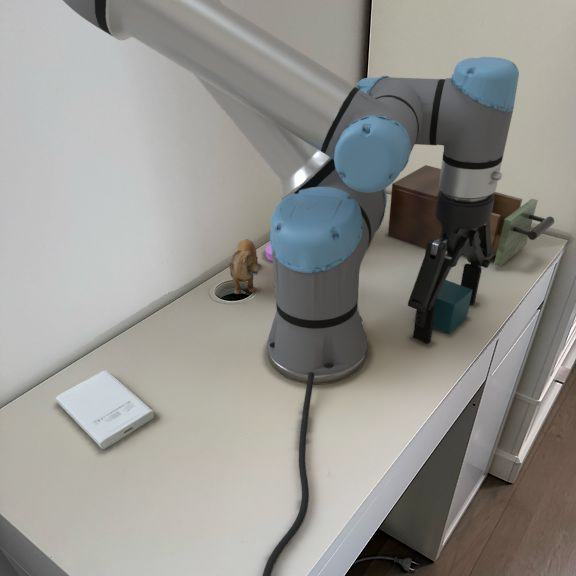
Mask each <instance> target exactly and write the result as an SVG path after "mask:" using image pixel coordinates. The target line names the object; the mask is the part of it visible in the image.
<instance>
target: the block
mask: <svg viewBox="0 0 576 576" xmlns="http://www.w3.org/2000/svg"><path fill="white" fill-rule="evenodd" d="M471 295H472V289H469V288H466V287H464V286H461V284H459V283H455V282H452V281H450V280H448V279H445V282H444V284H443V286H442V288H441V290H440V292H439V294H438V296H437V298H436V300H435V302H434V304H433V306H436V309H435V316H434V323H433V329H435V330H437V331H440V332H442V333H444V334H447V335H450V334H451V333H452V332H453V331H455V330H456V329H457V328H458V327H459V326H460V325H461V324H462V323H463V322H465V321H466V320H467V317H468V314H469V313H468V312H469V309H470V305H471V304H470V299H471Z"/></svg>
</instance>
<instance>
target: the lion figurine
mask: <svg viewBox="0 0 576 576" xmlns="http://www.w3.org/2000/svg"><path fill="white" fill-rule="evenodd" d="M258 260H259V257H258V256H257V249H256V245H255V243H254V242H253V241H252V240H250V239H248V238H246V239H243V240H241V241H239V242H238V244H237V250H236V252H234V253H233V254H232V256H231V259H230V261H229V264H228V265H229V273H230V276H231V277H232V281H233V285H234V288H235V289H234V291H233V293H234V294H235V295H240V294H241V293H242V288H241V285H240V283H247V290H248V292H250V293H253V292H255V291H256V290H257V289H256V287H255V286H254V275H256V276H257V275H258V273H259V270H260V268H261V267H262V265H261V264H260V263H259V261H258Z"/></svg>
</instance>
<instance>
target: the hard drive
mask: <svg viewBox="0 0 576 576" xmlns="http://www.w3.org/2000/svg"><path fill="white" fill-rule="evenodd" d="M55 399H56V402H57V404H58V405H59V406H60V407H61V408H62V409H63V410H64V411H65V412H66V413H67V414H68V415H69V416H70V417H71V419H73V420H74V422H75V423H76V424H78V426H80V428H81V429H82V430H83V431H84V432H85V433H86V434H88V436H89V437H90V438H91V439H92V440H93V441H94V442H95V443H96V444H97V446H98V447H99V448H100V449H101V450H105V449H107V448H109V447H111V446H112V445H114V444H115V443H117V442H119V441H120V440H122V439H123V438H125V437H127V436H128V435H130V434H131V433H133V432H135V431H136V430H137V429H139V428H141V427H143V426H144V425H146V424H147V423H149V422H151V421H152V420H153V419H154V418H155V417H156V416H155V412H154V410H153V409H151V408H150V407H149V406H148V405H147V404H146V403H145V402H144V401H142V400H141V398H139V397H138V396H137V395H136V394H135V393H134V392H132V391H131V390H130V389H129V388H128V387H126V386H125V384H123V383H122V382H121V381H120V380H118V378H116V377H115V376H114V375H113V374H112V373H111V372H109V370H106V369H104V370H102V371H100V372H98V373H96V374H94V375H92V376H90V377H89V378H87V379H85V380H83V381H81V382H79V383H78V384H76V385H74V386H72V387H71V388H68V389H67V390H64V391H63V392H61V393H59V394H58V395H57V396H56V397H55Z"/></svg>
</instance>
